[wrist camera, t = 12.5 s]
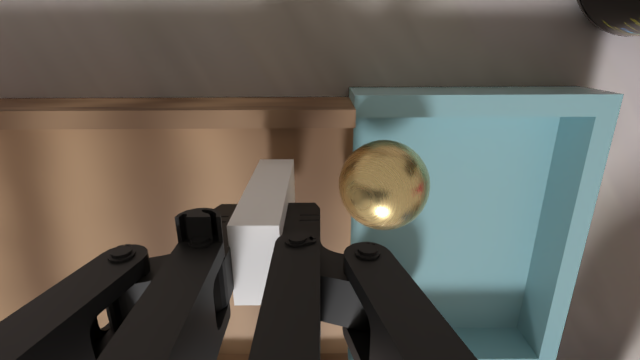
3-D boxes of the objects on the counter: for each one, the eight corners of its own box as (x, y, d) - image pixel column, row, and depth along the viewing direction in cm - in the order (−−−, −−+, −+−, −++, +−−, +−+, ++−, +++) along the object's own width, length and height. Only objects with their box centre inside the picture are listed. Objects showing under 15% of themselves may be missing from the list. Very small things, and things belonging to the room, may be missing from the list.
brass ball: (364, 200, 21) (321, 230, 18) (367, 126, 19) (320, 144, 16) (438, 220, 18) (403, 257, 15) (448, 138, 17) (411, 161, 14)
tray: (344, 334, 26) (347, 373, 23) (349, 87, 20) (354, 95, 17) (525, 333, 26) (552, 372, 23) (578, 86, 20) (623, 94, 17)
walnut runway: (39, 330, 26) (-10, 380, 22) (-32, 98, 20) (-111, 111, 17) (344, 328, 26) (348, 377, 22) (349, 97, 20) (356, 109, 17)
